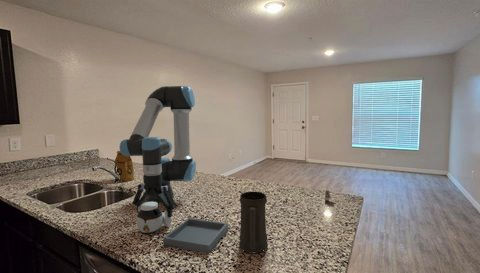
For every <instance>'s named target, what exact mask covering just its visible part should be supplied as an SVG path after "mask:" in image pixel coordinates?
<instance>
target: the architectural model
mask: <svg viewBox="0 0 480 273" xmlns="http://www.w3.org/2000/svg"><path fill="white" fill-rule="evenodd" d="M330 193H331V192H330V190H329V189H325V191H324V203H327V202H328V203H329V202H330V201H332V198H333V195H331V194H330Z"/></svg>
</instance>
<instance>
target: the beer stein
mask: <svg viewBox="0 0 480 273" xmlns="http://www.w3.org/2000/svg"><path fill="white" fill-rule="evenodd" d="M239 202H240V230H239V231H240V232H239V242H238V246H239V247H238V248H239V249H240V248H241V249H242V250H241V249H240V250H241V251H243V250H244V251H246V252H245V253H247V252H260V251H263V250H265V249H266V248H267V247H268V246H269V243H268V236H267V219H266V204H267V203H268V199H267V194H265V193H264V192H261V191H245V192H243V193H241V194H240V197H239ZM267 249H268V248H267ZM267 249H266V250H267ZM266 250H265V251H266ZM244 251H243V252H244ZM263 252H264V251H263ZM260 253H261V252H260Z"/></svg>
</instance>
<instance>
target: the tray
mask: <svg viewBox="0 0 480 273" xmlns="http://www.w3.org/2000/svg"><path fill="white" fill-rule="evenodd" d="M228 231H229V222H228V223H227V222H222V221H221V222H220V221H215V220H214V221H213V220H205V219H199V218H190V217H188V218H186V219H185V220H184V221H183V222H181V224H179V225H178V226H176V227H175V228H174V229H172V230H171V231H170V232H169V233H168V234H166V235H165V236H164V237H163V238H162V240H163V241H162V242H163V243H162V244H163V246H164V247H170V248H175V249H181V250H188V251H191V250H192V252H197V253H203V252H204V253H203V254H208V253H210V254H211V252H212V251H213V250H214V249H215V248H216V246H217V245H218V244H219V242H220V241H221V240H222V239H223V238H224V237H225V235H226V234H225V233H227V232H228ZM221 238H222V239H221ZM217 243H218V244H217ZM216 244H217V245H216ZM213 248H214V249H213ZM212 249H213V250H212Z"/></svg>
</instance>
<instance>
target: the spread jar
mask: <svg viewBox="0 0 480 273" xmlns="http://www.w3.org/2000/svg"><path fill="white" fill-rule="evenodd" d="M158 203H159V202H149V201H147V202H143V203H142V204H141V210H140V211H139V212H138V213H137V214H136V226H137V227H136V228H137V229H138V231H139V232H140V233H141V235H146V236H147V235H153V234H156V233H158V232H159V231H160V230H161V229H162V227H163V226H165V228H168V227H169V228H170V226H171V223H170V224H169V225H168V226H166V221H165V211H164V212H162V210H161V208H159V206H158V205H159V204H158Z"/></svg>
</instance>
